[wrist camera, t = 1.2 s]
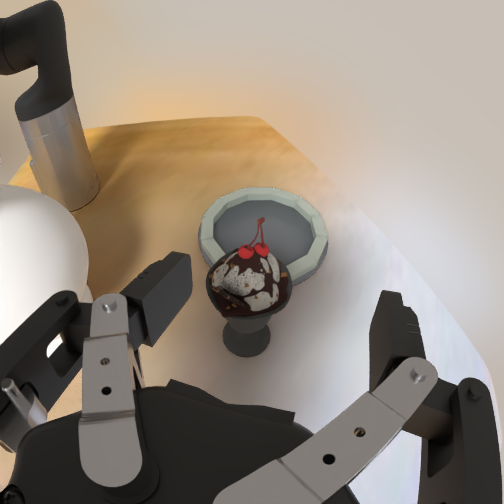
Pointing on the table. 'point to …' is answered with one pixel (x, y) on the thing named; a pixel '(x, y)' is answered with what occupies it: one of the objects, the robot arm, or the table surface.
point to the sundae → (248, 294)
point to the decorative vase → (37, 256)
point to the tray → (266, 229)
